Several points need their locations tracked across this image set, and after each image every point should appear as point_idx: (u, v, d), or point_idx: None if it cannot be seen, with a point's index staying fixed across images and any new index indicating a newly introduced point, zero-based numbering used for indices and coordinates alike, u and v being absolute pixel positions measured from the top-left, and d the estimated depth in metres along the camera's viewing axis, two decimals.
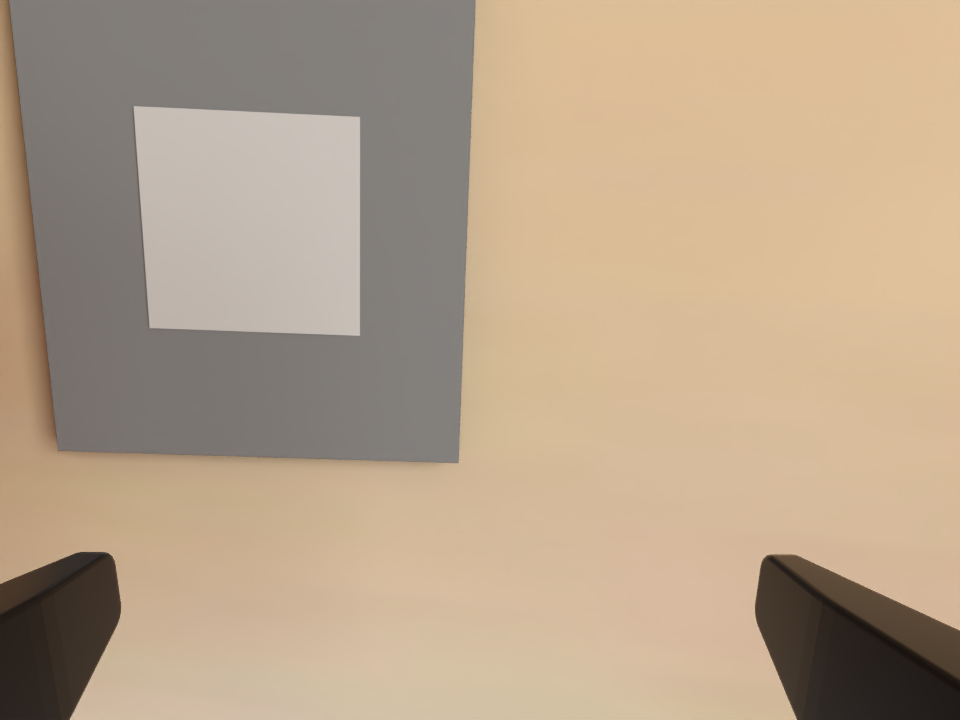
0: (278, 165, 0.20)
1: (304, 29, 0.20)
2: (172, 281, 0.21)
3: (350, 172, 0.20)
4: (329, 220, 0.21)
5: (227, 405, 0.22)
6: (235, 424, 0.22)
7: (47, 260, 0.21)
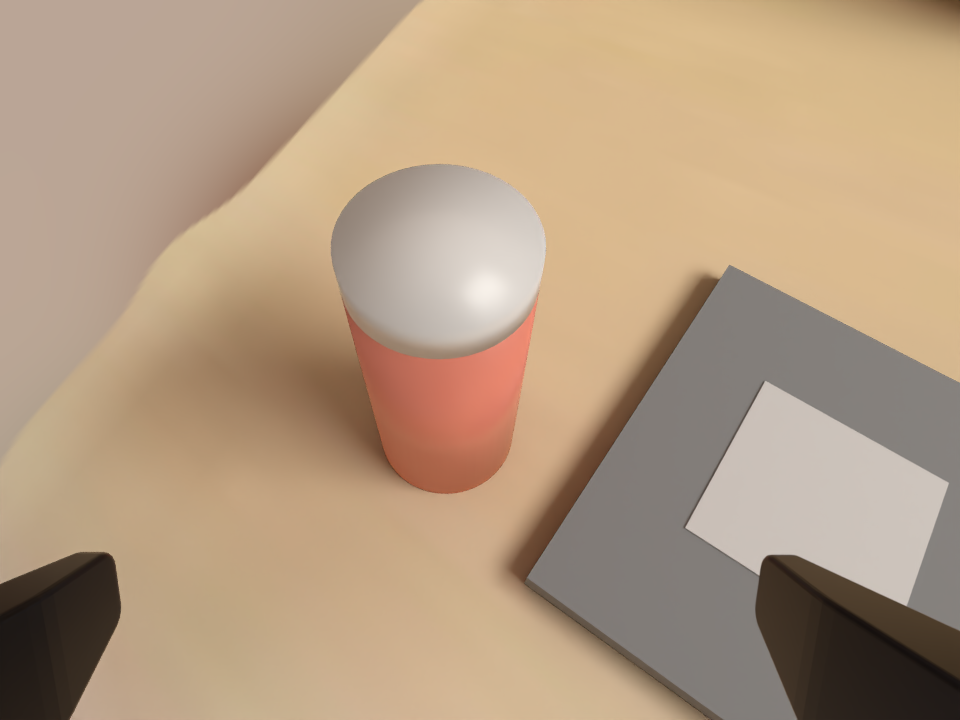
0: (863, 476, 0.23)
1: (920, 408, 0.24)
2: (727, 504, 0.22)
3: (926, 516, 0.22)
4: (891, 540, 0.22)
5: (717, 642, 0.20)
6: (715, 666, 0.20)
7: (632, 431, 0.23)
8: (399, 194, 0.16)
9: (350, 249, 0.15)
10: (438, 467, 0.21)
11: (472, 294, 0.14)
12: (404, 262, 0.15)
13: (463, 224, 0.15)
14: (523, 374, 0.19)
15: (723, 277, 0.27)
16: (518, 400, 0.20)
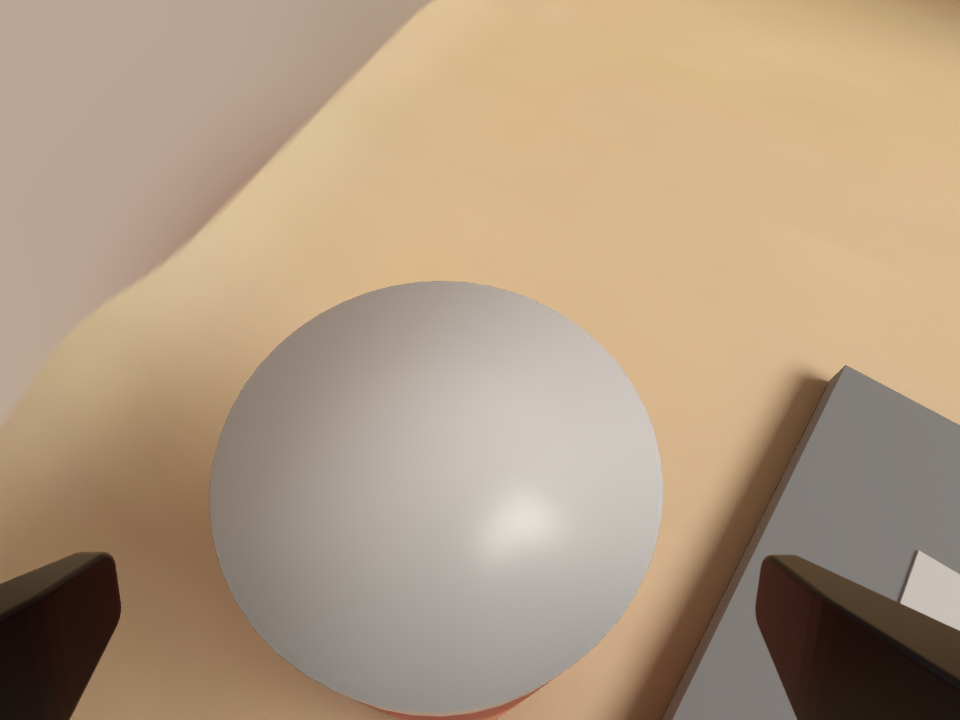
0: None
1: None
2: None
3: None
4: None
5: None
6: None
7: (729, 636, 0.16)
8: (360, 347, 0.08)
9: (252, 479, 0.07)
10: None
11: (511, 599, 0.06)
12: (365, 515, 0.07)
13: (488, 415, 0.07)
14: None
15: (839, 384, 0.19)
16: None
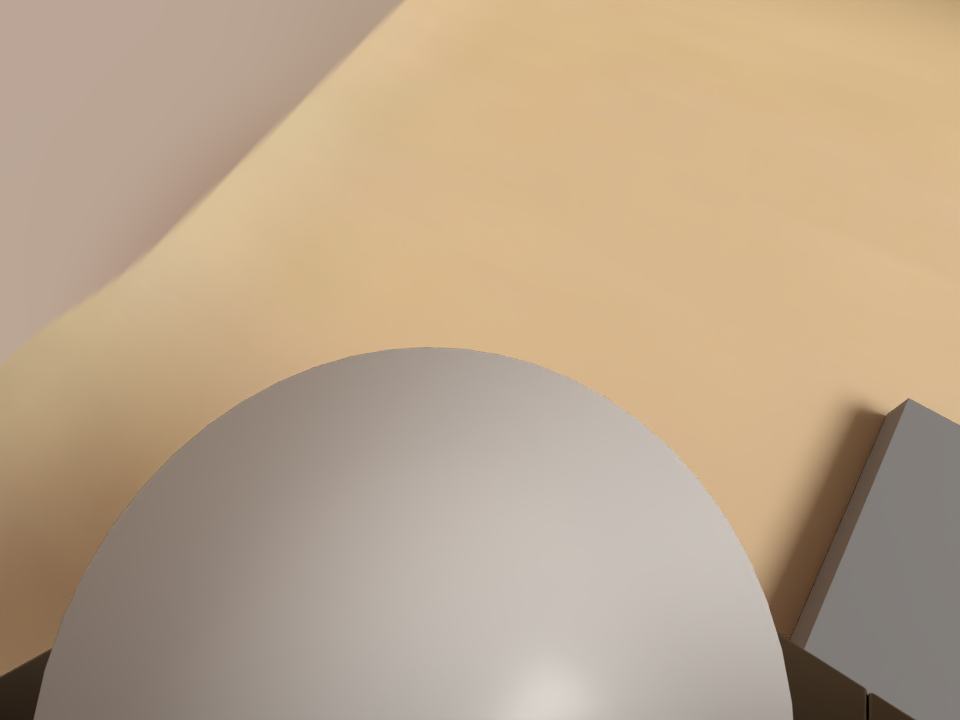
0: None
1: None
2: None
3: None
4: None
5: None
6: None
7: None
8: (303, 461, 0.05)
9: (107, 706, 0.04)
10: None
11: None
12: None
13: (502, 580, 0.05)
14: None
15: (902, 421, 0.17)
16: None
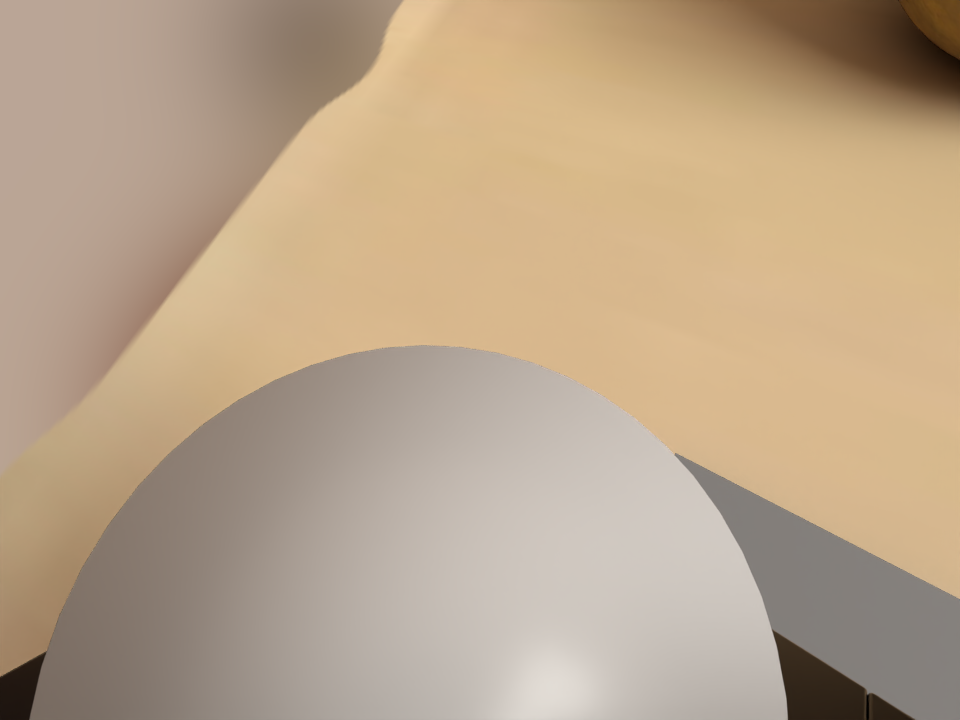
0: None
1: (910, 636, 0.20)
2: None
3: None
4: None
5: None
6: None
7: None
8: (298, 457, 0.05)
9: (103, 702, 0.04)
10: None
11: None
12: None
13: (497, 577, 0.05)
14: None
15: None
16: None
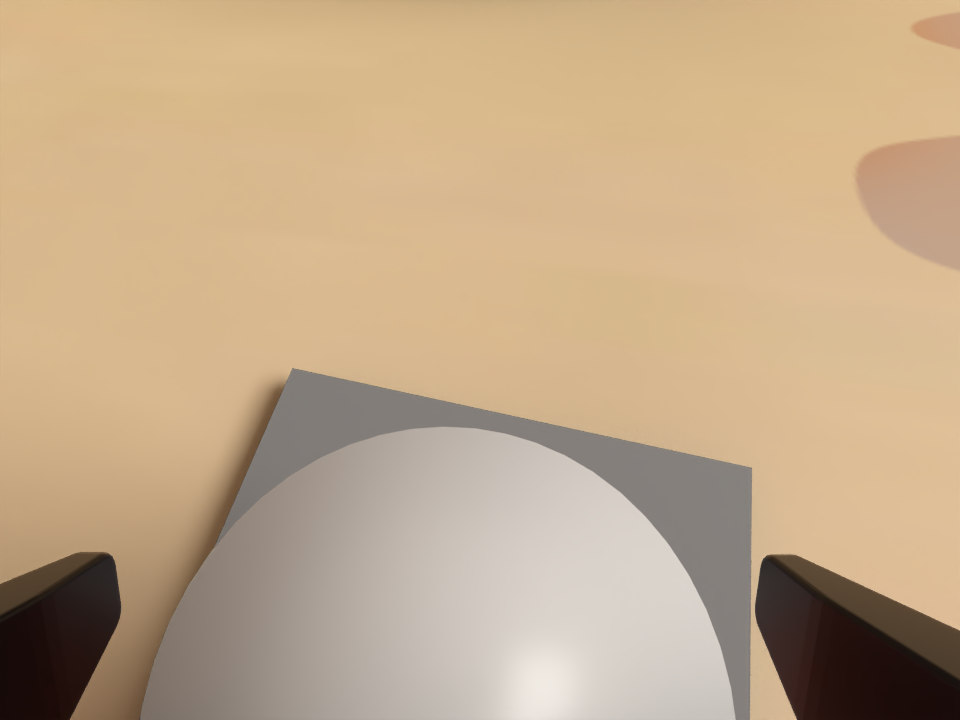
0: None
1: None
2: None
3: None
4: None
5: None
6: None
7: None
8: (342, 527, 0.06)
9: None
10: None
11: None
12: None
13: (507, 631, 0.06)
14: None
15: (285, 390, 0.19)
16: None
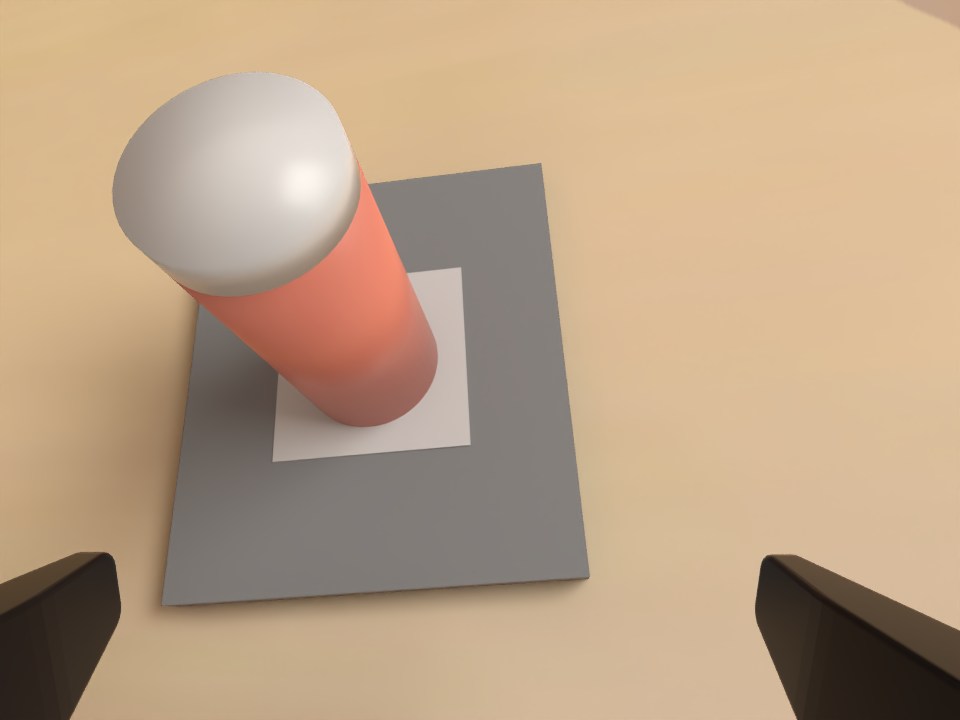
0: None
1: (416, 219, 0.26)
2: (298, 416, 0.23)
3: (455, 307, 0.24)
4: (438, 347, 0.23)
5: (338, 534, 0.21)
6: (345, 555, 0.21)
7: (193, 413, 0.23)
8: (175, 126, 0.14)
9: (135, 202, 0.13)
10: (358, 401, 0.20)
11: (273, 208, 0.13)
12: (195, 198, 0.13)
13: (249, 136, 0.13)
14: (402, 280, 0.18)
15: None
16: (413, 308, 0.19)
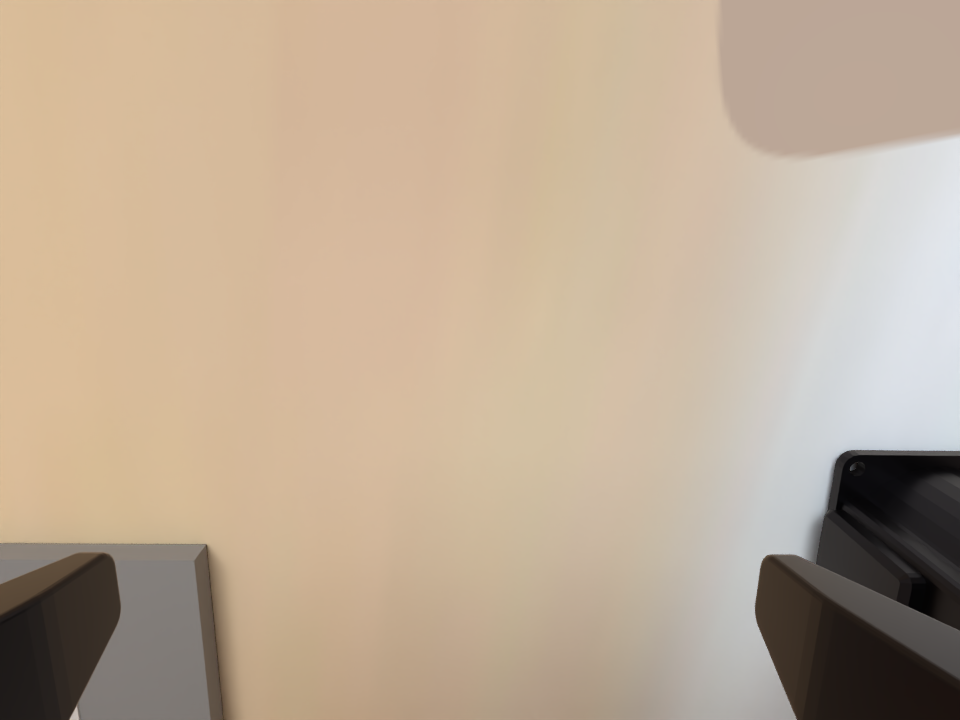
0: None
1: None
2: None
3: None
4: None
5: None
6: None
7: None
8: None
9: None
10: None
11: None
12: None
13: None
14: None
15: None
16: None
